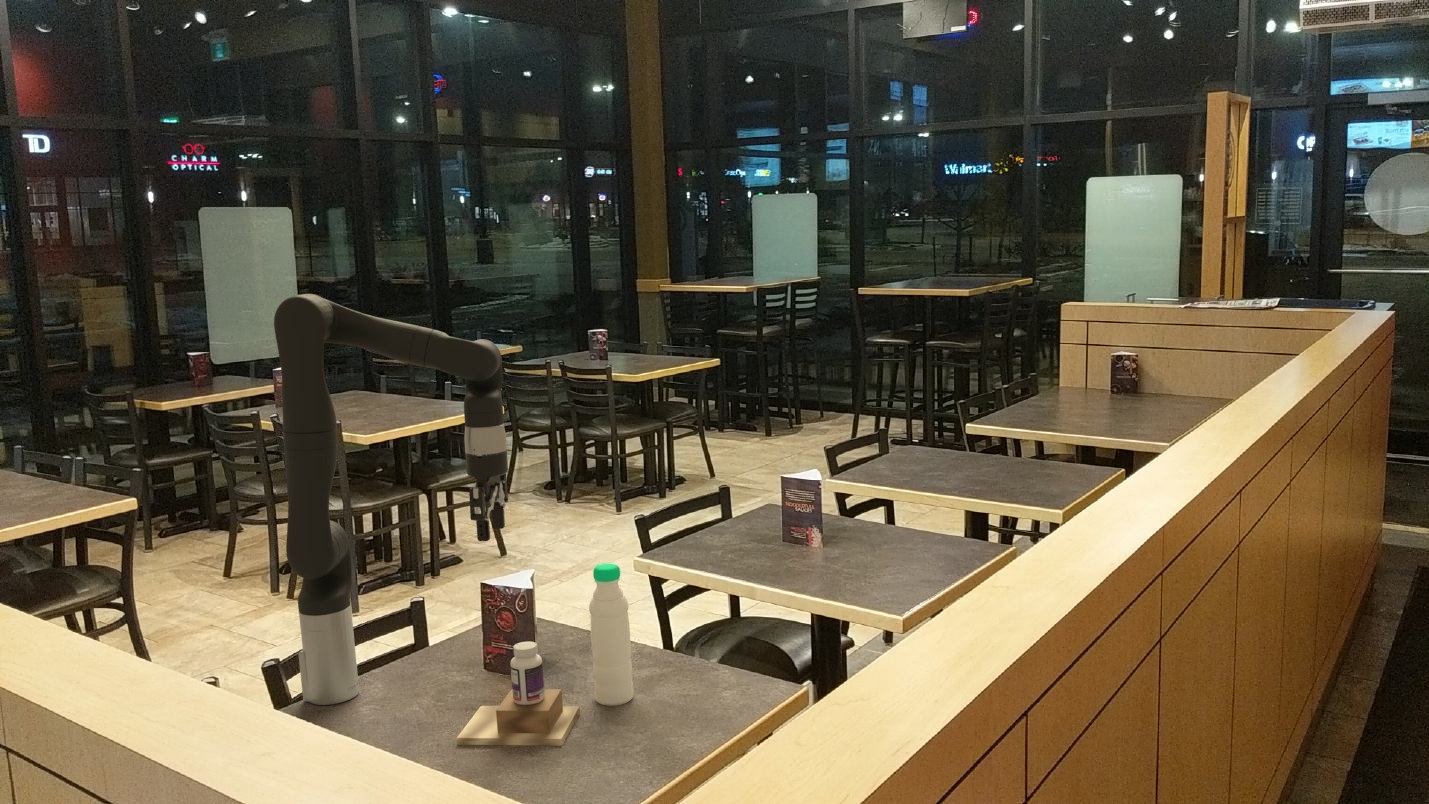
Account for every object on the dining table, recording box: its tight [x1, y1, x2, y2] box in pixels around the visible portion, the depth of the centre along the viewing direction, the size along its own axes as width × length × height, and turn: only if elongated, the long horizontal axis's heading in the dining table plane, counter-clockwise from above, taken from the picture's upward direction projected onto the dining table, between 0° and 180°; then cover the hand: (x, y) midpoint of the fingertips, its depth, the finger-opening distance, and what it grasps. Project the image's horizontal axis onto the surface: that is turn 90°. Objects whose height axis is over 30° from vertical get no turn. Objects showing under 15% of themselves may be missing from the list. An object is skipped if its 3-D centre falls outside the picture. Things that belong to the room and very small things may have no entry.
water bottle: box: [588, 563, 635, 707], centre depth 207 cm, size 7×7×25 cm
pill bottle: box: [510, 641, 545, 705], centre depth 197 cm, size 5×5×10 cm
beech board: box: [456, 705, 581, 747], centre depth 199 cm, size 18×13×1 cm
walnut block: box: [496, 688, 563, 733], centre depth 198 cm, size 9×9×4 cm
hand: (491, 534), depth 214 cm, fingers open, 8 cm apart
